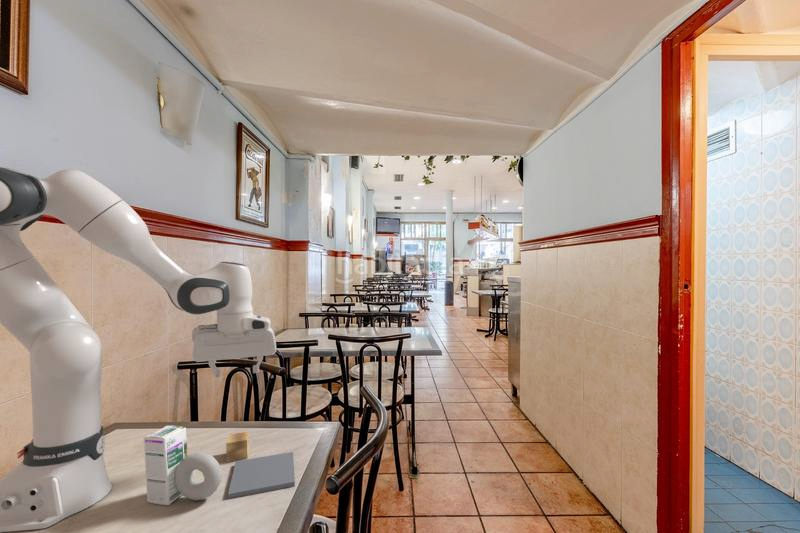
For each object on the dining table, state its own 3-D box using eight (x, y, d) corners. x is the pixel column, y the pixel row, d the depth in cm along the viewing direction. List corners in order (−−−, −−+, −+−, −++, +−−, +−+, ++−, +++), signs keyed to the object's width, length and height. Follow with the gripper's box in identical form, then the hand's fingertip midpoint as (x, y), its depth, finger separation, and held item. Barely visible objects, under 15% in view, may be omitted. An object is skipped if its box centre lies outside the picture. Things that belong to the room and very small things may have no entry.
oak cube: (226, 462, 95) (226, 443, 95) (229, 452, 100) (228, 434, 100) (247, 458, 96) (247, 440, 96) (249, 449, 101) (248, 431, 101)
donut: (224, 494, 81) (224, 450, 81) (216, 505, 78) (215, 458, 78) (181, 492, 82) (181, 448, 82) (171, 502, 79) (170, 456, 78)
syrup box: (168, 506, 77) (165, 438, 77) (145, 503, 79) (143, 435, 79) (189, 490, 83) (187, 426, 83) (168, 487, 84) (166, 424, 84)
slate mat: (228, 498, 80) (227, 494, 80) (235, 465, 93) (235, 461, 93) (294, 486, 84) (294, 481, 84) (293, 455, 98) (293, 451, 98)
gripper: (188, 327, 91) (190, 382, 92) (275, 321, 98) (276, 373, 98) (194, 323, 98) (196, 375, 98) (275, 318, 104) (277, 367, 104)
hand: (237, 374), depth 98 cm, fingers open, 8 cm apart
